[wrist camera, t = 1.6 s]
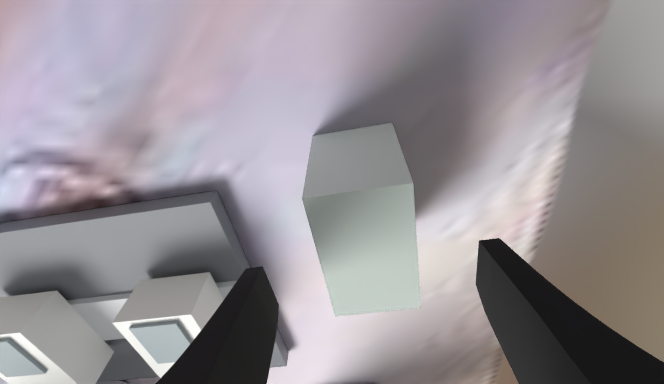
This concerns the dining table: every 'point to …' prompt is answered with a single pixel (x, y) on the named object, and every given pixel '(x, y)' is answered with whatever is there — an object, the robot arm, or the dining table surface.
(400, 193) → the block
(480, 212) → the dining table surface
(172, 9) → the dining table surface
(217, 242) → the board
